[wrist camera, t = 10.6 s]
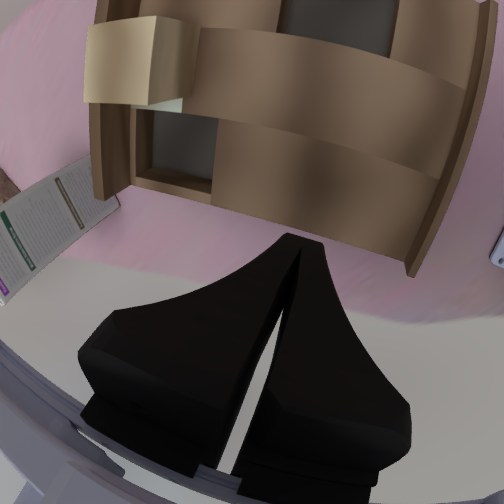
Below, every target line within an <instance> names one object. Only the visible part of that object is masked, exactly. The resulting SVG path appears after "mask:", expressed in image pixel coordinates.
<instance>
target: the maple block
mask: <svg viewBox="0 0 504 504" xmlns="http://www.w3.org/2000/svg"><path fill="white" fill-rule="evenodd" d="M200 29H201V25H198V24H194V23H190V22H185V21H181V20H177V19H172V18H167V17H162V16H146V17H138V18H130V19H123V20H116V21H110V22H105V23H100V24H95V25H90V26H88V35H87V45H86V57H85V74H84V103H115V104H133V105H147V106H148V105H152V104H156V103H160V102H165V101H170V100H174V99H179V98H184V97H189V96H192V91H193V82H194V73H195V65H196V57H197V50H198V43H199V36H200Z"/></svg>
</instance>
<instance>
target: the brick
mask: <svg viewBox="0 0 504 504" xmlns="http://www.w3.org/2000/svg"><path fill="white" fill-rule="evenodd" d="M19 193H20V190H19V189H18V188H17V186H16V185H15V184H14V183H13V182H12V181H11V180H10V179H8V177H7V175H6V174H5V172H4V171H3V170H2V169H1V168H0V206H1V205H2V204H4V203H5V202H7V201H8V200H10V199H11V198H13V197H14V196H16V195H17V194H19Z"/></svg>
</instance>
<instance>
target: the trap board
mask: <svg viewBox="0 0 504 504" xmlns="http://www.w3.org/2000/svg"><path fill="white" fill-rule="evenodd" d="M497 15H498V3H497V2H495V1H493V0H486V1H484V2H482V3H478V2H476V1H474V0H97V7H96V14H95V21H94V25H95V24H100V23H105V22H110V21H116V20H123V19H130V18H138V17H146V16H162V17H167V18H172V19H177V20H181V21H185V22H190V23H194V24H198V25H201V29H200V36H199V43H198V50H197V57H196V65H195V73H194V82H193V91H192V96H189V97H184V98H179V99H174V100H170V101H165V102H160V103H156V104H152V105H148V106H147V105H133V104H115V103H89V133H90V155H91V170H92V182H93V192H94V199H97V200H101V201H104V202H105V201H106V200H108V199H109V198H111V197H112V196H114V195H115V194H117V193H118V192H120V191H122V190H123V189H125V188H126V187H128V186H130V185H133V186H138V187H142V188H146V189H150V190H154V191H158V192H162V193H166V194H170V195H174V196H178V197H182V198H186V199H190V200H194V201H198V202H201V203H205V204H209V205H213V206H217V207H220V208H224V209H228V210H232V211H235V212H239V213H243V214H246V215H250V216H253V217H257V218H261V219H264V220H268V221H271V222H275V223H278V224H282V225H285V226H289V227H292V228H296V229H299V230H303V231H306V232H309V233H313V234H316V235H320V236H323V237H326V238H330V239H333V240H336V241H340V242H343V243H346V244H349V245H353V246H356V247H359V248H362V249H366V250H369V251H372V252H375V253H378V254H381V255H385V256H388V257H391V258H394V259H397V260H400V261H403V262H404V263H405V268H406V274H407V276H409V277H412V278H414V277H415V275H416V273H417V271H418V270H419V268H420V266H421V264H422V262H423V260H424V258H425V256H426V254H427V252H428V250H429V248H430V246H431V244H432V242H433V240H434V238H435V235H436V233H437V231H438V229H439V227H440V225H441V222H442V220H443V218H444V216H445V213H446V211H447V209H448V206H449V204H450V201H451V199H452V196H453V194H454V191H455V189H456V186H457V184H458V181H459V178H460V176H461V173H462V170H463V168H464V165H465V162H466V159H467V156H468V153H469V150H470V147H471V144H472V141H473V137H474V134H475V131H476V127H477V124H478V120H479V116H480V113H481V109H482V105H483V101H484V97H485V92H486V88H487V83H488V78H489V73H490V68H491V63H492V57H493V50H494V43H495V35H496V26H497Z"/></svg>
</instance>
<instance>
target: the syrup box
mask: <svg viewBox="0 0 504 504" xmlns="http://www.w3.org/2000/svg"><path fill="white" fill-rule="evenodd" d="M118 207H119V203H118V201H117V199H116V196H115V195H114V196H112V197H111V198H109V199H108V200H106V201H105V202H104V201H101V200H97V199H94V192H93V182H92V170H91V155H88V156H86V157H84V158H82V159H80V160H78V161H76V162H74V163H72V164H70V165H68V166H66V167H64V168H62V169H60V170H58V171H56V172H54V173H53V174H51V175H49V176H47V177H45V178H43V179H42V180H40V181H38V182H37V183H35V184H33V185H32V186H30V187H28V188H27V189H25V190H24V191H22V192H20V193H19V194H17V195H16V196H14V197H13V198H11V199H10V200H8V201H7V202H5V203H4V204H2V205H1V206H0V306H4V305H6V303H7V302H8V301H9V300H10V299H11V298H12V297H13V296H14V295H15V294H16V293H17V292H18V291H19V290H21V288H23V287H24V286H25V285H26V284H27V283H28V282H29V281H30V280H31V279H32V278H33V277H35V276H36V275H37V274H38V273H39V272H40V271H41V270H42V269H44V268H45V267H46V266H47V265H48V264H49V263H50V262H51V261H53V260H54V259H55V258H56V257H57V256H59V255H60V254H61V253H62V252H63V251H64V250H66V249H67V248H68V247H69V246H70V245H72V244H73V243H74V242H75V241H76V240H78V239H79V238H80V237H81V236H82V235H84V234H85V233H86V232H88V231H89V230H90V229H91V228H93V227H94V226H95V225H96V224H98V223H99V222H100V221H102V220H103V219H104V218H105V217H107V216H108V215H110V214H111V213H112V212H113V211H115V210H116V209H117V208H118Z"/></svg>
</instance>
